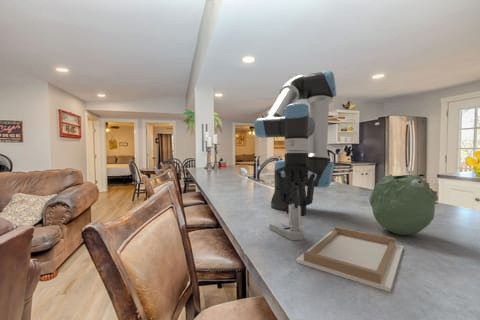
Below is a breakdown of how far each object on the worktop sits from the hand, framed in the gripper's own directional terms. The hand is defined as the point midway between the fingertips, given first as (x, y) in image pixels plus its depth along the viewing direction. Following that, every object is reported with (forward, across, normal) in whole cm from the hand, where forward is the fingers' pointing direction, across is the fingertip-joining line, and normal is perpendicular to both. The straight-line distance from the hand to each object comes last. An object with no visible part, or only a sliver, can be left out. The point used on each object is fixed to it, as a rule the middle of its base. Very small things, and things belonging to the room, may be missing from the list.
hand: (296, 224), depth 78 cm
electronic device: (+4, -4, 0) cm, 6 cm away
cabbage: (+4, +26, +23) cm, 35 cm away
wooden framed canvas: (+4, +18, -4) cm, 19 cm away
